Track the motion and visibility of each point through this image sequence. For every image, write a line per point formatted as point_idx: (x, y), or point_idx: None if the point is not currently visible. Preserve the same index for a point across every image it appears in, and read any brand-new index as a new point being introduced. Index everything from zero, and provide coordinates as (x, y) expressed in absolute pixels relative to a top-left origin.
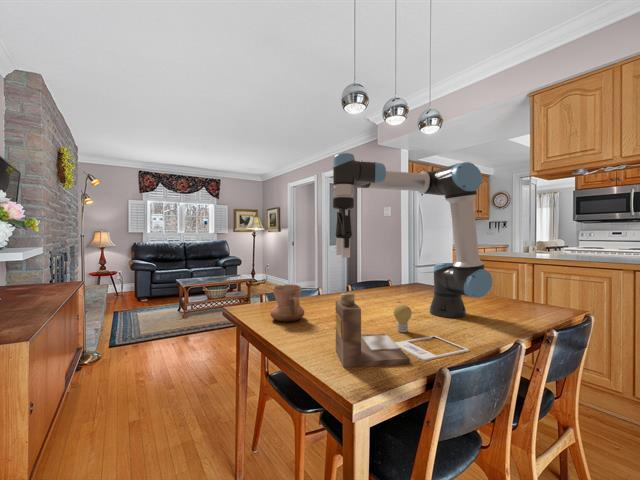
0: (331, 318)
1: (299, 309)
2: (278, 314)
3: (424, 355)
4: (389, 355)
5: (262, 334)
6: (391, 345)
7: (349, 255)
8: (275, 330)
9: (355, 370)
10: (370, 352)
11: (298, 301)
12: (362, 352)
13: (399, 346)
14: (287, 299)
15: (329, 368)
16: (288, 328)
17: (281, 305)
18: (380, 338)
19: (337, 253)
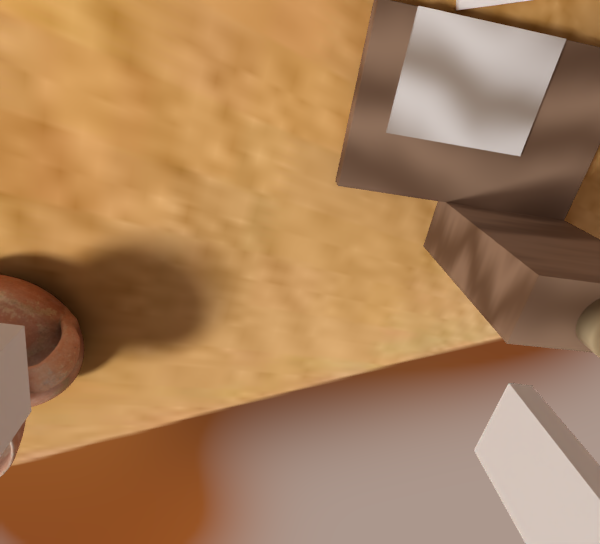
0: (4, 134)
1: (23, 315)
2: (65, 386)
3: None
4: (580, 114)
5: (201, 411)
6: (526, 60)
7: (544, 410)
8: (166, 377)
9: None
10: (526, 165)
11: (61, 359)
12: (512, 190)
13: (503, 1)
14: None
15: None
16: (150, 338)
17: None
18: (440, 62)
19: (18, 416)
